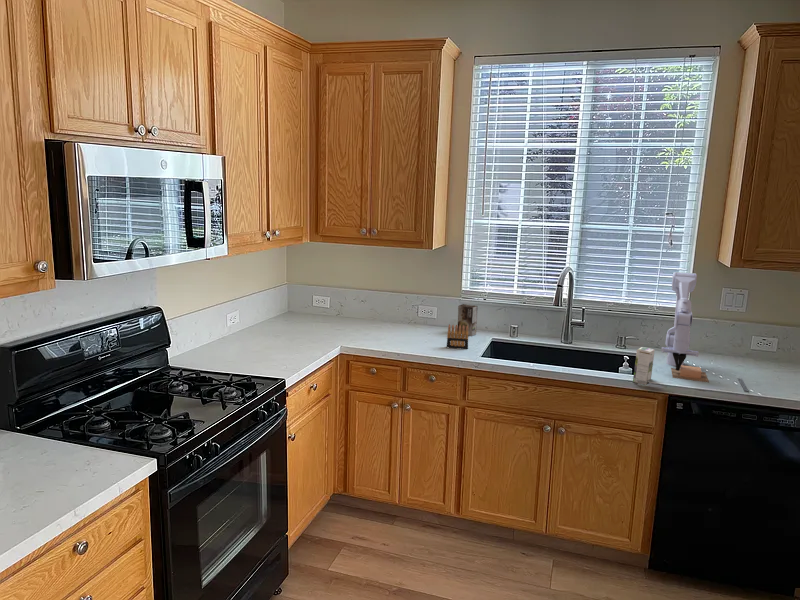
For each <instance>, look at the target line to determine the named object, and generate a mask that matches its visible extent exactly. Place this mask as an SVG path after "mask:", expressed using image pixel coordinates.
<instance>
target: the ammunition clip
mask: <svg viewBox="0 0 800 600" xmlns="http://www.w3.org/2000/svg"><path fill="white" fill-rule="evenodd" d="M446 335H447V336H446V337H447V338H446V348H447V347H449V348H448V349H457V348H461V349H462V350H468V349H469V336H468V325H467V327H466V333H465V327H464V325H463V328H462V335H461V325H460V326H459V331H458V324H456V325H454V324H452V325H451V324H448V327H447V334H446Z"/></svg>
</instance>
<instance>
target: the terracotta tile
mask: <svg viewBox="0 0 800 600" xmlns="http://www.w3.org/2000/svg"><path fill="white" fill-rule="evenodd" d="M679 372H680V376H685V377H692V378H700V379H701V373H702V372H703V371H702V368H701V367H699V366H690V365H681V367H680V371H679Z"/></svg>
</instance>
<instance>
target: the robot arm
mask: <svg viewBox="0 0 800 600" xmlns="http://www.w3.org/2000/svg"><path fill="white" fill-rule="evenodd" d="M697 280H698V275H697V273H693V272H692V273H691V272H681V271H680V272H677V271H674V272H673V273H672V278H671V290H672V291H673V292H675V295H676V298H675V311H674V321H673V326H672V327H671V328H669V329H667V332H666V335H665V347H664V346H661V353H667V356H666V364H667V365H669V366H673V367H675V368H676V370H677V371H679V370H680V367H681V365H684V363H685V360H686V358H687V356H693V357H698V358H699V351H698V350H691V349H690V345H691V344H690V343H691V333H690V331H691V327H692V325H693V321H694V320H693V319H694V316H693V311H692V301H691V300H690V293H693V292H694V290H695V288H696V285H697ZM684 366H685V365H684Z"/></svg>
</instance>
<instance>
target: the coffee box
mask: <svg viewBox="0 0 800 600" xmlns="http://www.w3.org/2000/svg"><path fill="white" fill-rule="evenodd" d="M477 323H478V305H473V304H467V303H466V304H465V303H462V304H460V305H458V307H457V328H458V331H459V326H460V325H461V334H462V328H463V325H464V327H465V333H466V327H467V325H468V335H469V336H470V337H473V336H476V335H477V328H478V327H477V325H478V324H477ZM469 336H468V337H469Z"/></svg>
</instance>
